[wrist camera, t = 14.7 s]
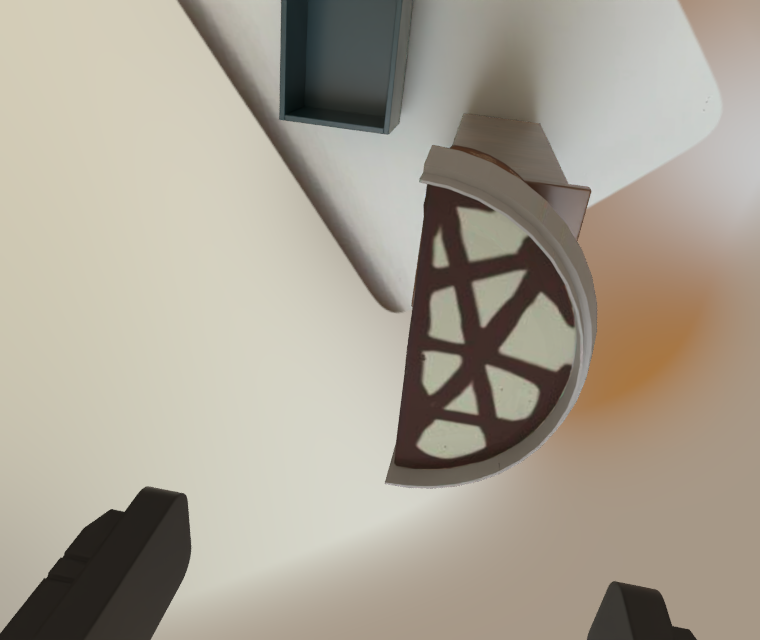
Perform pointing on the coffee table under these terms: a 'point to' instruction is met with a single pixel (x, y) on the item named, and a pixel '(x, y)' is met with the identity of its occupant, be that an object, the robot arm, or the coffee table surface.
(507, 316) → the food container
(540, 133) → the pillar
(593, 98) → the coffee table surface
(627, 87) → the coffee table surface
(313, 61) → the teal open box
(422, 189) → the coffee table surface
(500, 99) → the coffee table surface
